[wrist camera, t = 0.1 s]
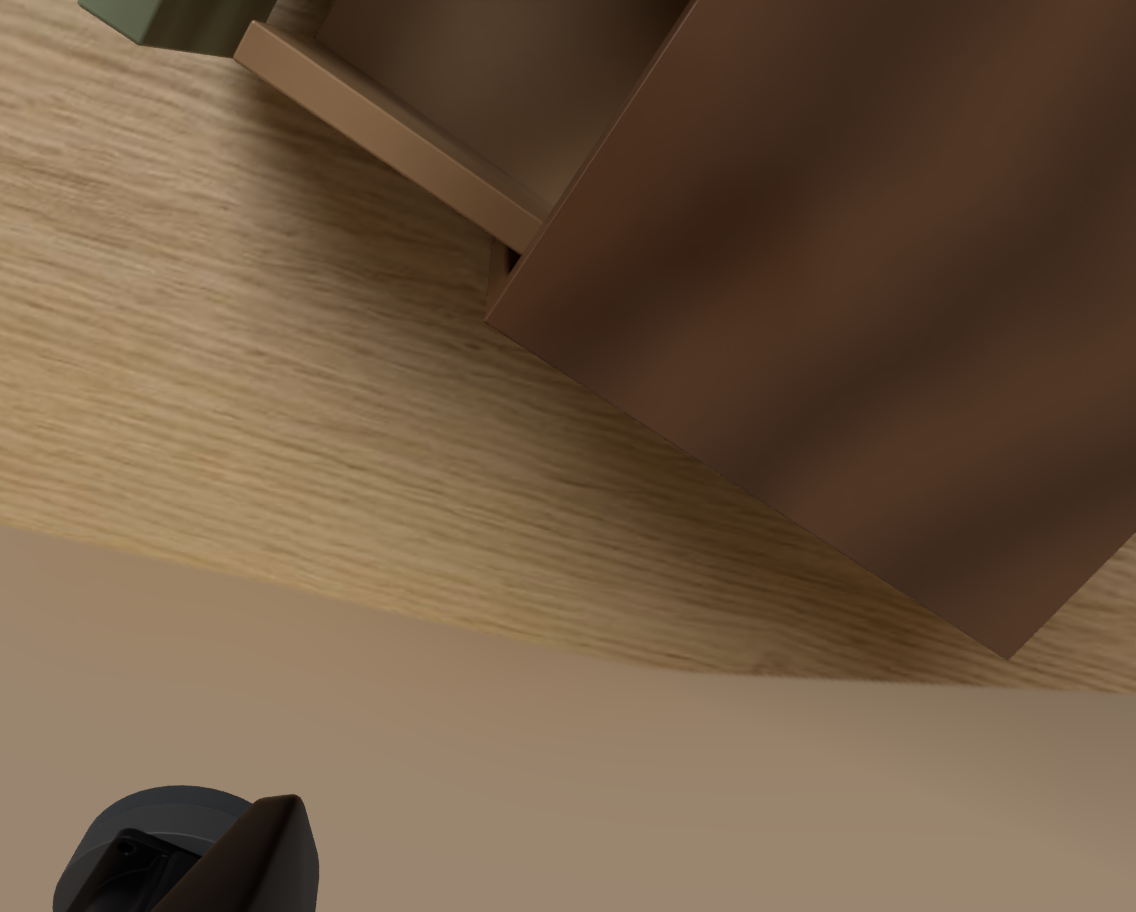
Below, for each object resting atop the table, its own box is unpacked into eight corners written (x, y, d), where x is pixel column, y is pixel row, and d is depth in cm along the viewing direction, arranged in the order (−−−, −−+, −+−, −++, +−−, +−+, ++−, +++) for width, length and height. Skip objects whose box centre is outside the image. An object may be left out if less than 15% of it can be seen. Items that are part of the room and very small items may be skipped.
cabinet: (489, 249, 25) (482, 321, 17) (747, -149, 21) (890, -295, 13) (867, 504, 29) (1008, 661, 21) (1134, 199, 25) (1421, 246, 17)
